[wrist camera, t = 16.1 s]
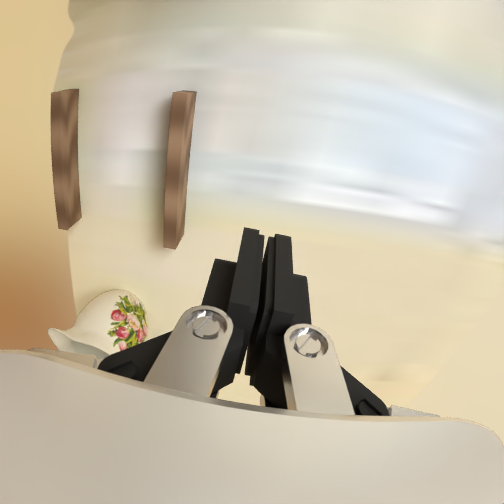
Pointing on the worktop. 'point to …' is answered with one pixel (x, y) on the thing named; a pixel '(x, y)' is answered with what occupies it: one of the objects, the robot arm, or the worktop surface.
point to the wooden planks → (67, 161)
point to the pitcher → (105, 326)
